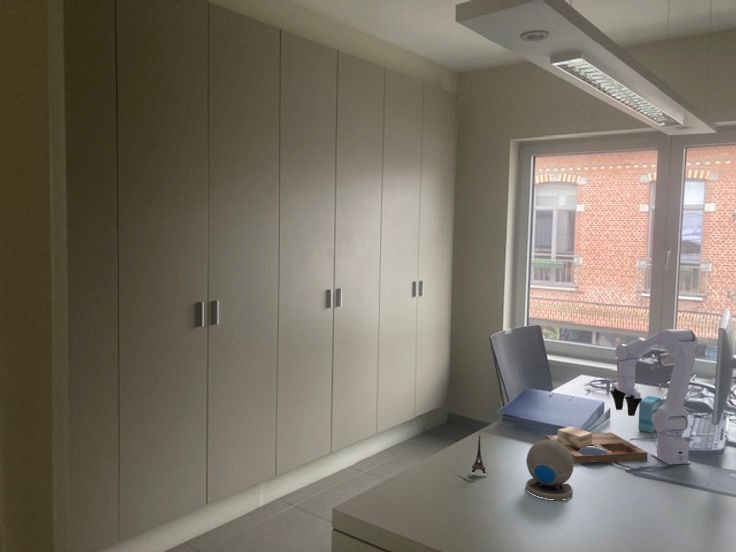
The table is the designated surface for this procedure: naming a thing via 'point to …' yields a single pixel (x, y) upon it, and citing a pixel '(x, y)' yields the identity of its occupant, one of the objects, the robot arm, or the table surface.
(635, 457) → the trap deck
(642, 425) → the data package
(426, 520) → the table surface
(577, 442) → the birch block
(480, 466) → the eiffel tower figurine
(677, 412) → the robot arm
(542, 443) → the webcam
